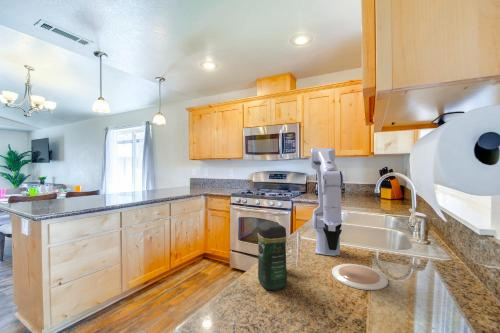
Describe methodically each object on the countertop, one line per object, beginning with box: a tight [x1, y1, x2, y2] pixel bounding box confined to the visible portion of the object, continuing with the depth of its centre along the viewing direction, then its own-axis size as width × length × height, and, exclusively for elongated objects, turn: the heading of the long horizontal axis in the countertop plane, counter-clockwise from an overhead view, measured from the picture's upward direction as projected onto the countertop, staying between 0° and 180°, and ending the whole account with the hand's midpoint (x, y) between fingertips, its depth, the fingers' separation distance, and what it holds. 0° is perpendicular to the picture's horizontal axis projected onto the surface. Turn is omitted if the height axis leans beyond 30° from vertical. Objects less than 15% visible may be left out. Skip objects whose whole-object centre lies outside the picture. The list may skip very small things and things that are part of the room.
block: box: [325, 235, 341, 256], centre depth 76 cm, size 4×4×6 cm
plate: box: [331, 263, 389, 291], centre depth 72 cm, size 16×16×1 cm
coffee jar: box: [257, 220, 288, 291], centre depth 69 cm, size 10×8×19 cm
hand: (332, 247), depth 76 cm, fingers closed on block, 4 cm apart
